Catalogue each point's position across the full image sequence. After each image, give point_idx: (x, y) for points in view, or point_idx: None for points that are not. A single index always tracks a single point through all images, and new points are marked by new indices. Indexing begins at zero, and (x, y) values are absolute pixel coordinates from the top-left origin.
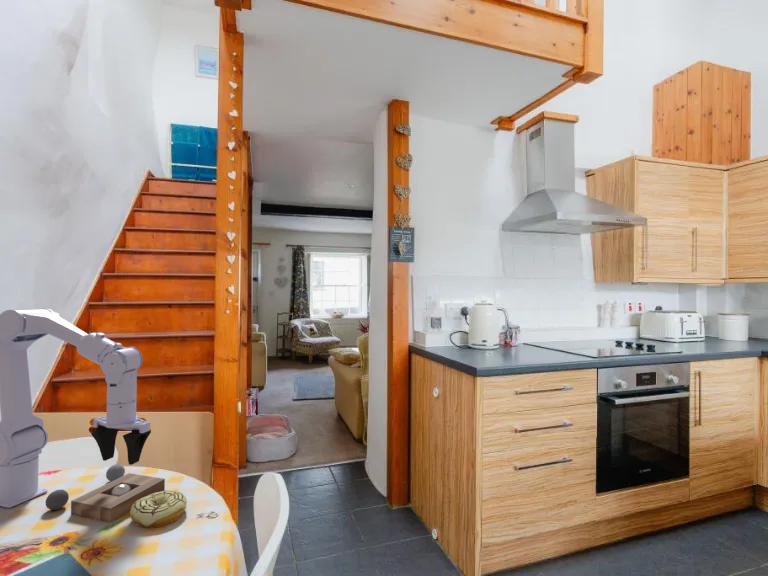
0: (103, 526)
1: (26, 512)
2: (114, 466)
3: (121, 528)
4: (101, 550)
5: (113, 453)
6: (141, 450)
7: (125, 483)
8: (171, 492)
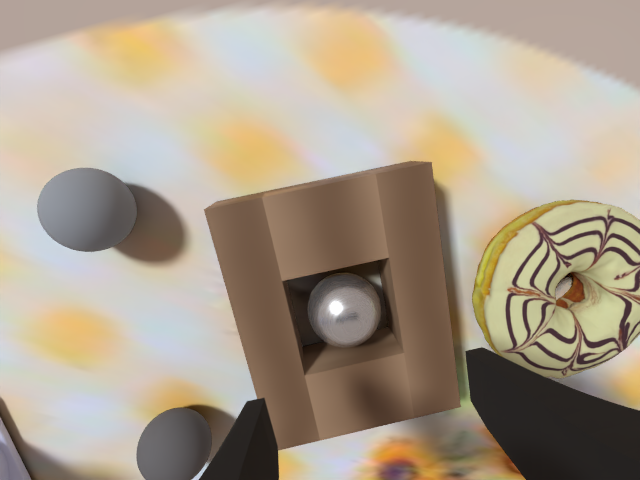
0: None
1: (122, 474)
2: (78, 228)
3: None
4: None
5: (260, 413)
6: (540, 379)
7: (302, 276)
8: (586, 242)
